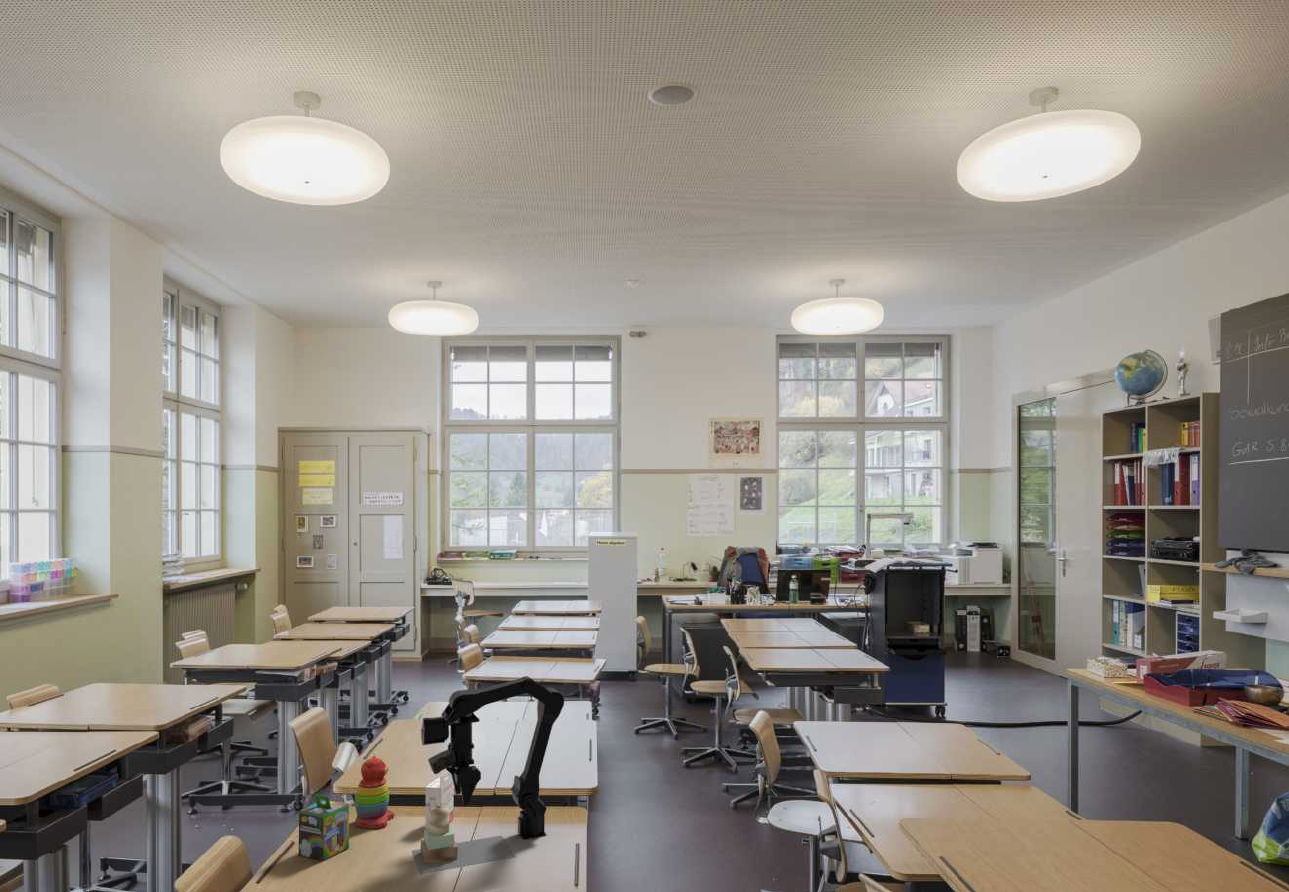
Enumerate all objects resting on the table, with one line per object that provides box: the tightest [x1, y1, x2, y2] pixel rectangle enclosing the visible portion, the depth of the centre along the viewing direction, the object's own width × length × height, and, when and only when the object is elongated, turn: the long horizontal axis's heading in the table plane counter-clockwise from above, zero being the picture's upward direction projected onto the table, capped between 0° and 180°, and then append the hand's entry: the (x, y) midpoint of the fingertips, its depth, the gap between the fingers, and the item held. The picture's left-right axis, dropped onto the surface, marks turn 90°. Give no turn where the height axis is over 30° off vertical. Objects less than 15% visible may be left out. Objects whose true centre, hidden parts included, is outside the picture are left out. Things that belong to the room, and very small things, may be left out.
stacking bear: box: [354, 755, 396, 830], centre depth 236 cm, size 11×10×18 cm
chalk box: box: [298, 793, 350, 862], centre depth 215 cm, size 9×9×15 cm
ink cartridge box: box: [425, 770, 455, 829], centre depth 233 cm, size 9×5×15 cm, turn 168°
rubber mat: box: [411, 834, 517, 875], centre depth 212 cm, size 24×15×1 cm, turn 114°
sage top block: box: [423, 824, 455, 850], centre depth 212 cm, size 6×6×3 cm
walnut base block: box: [420, 839, 458, 864], centre depth 211 cm, size 8×8×3 cm
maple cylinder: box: [429, 808, 450, 835], centre depth 212 cm, size 5×5×5 cm
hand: (461, 799), depth 219 cm, fingers open, 9 cm apart
